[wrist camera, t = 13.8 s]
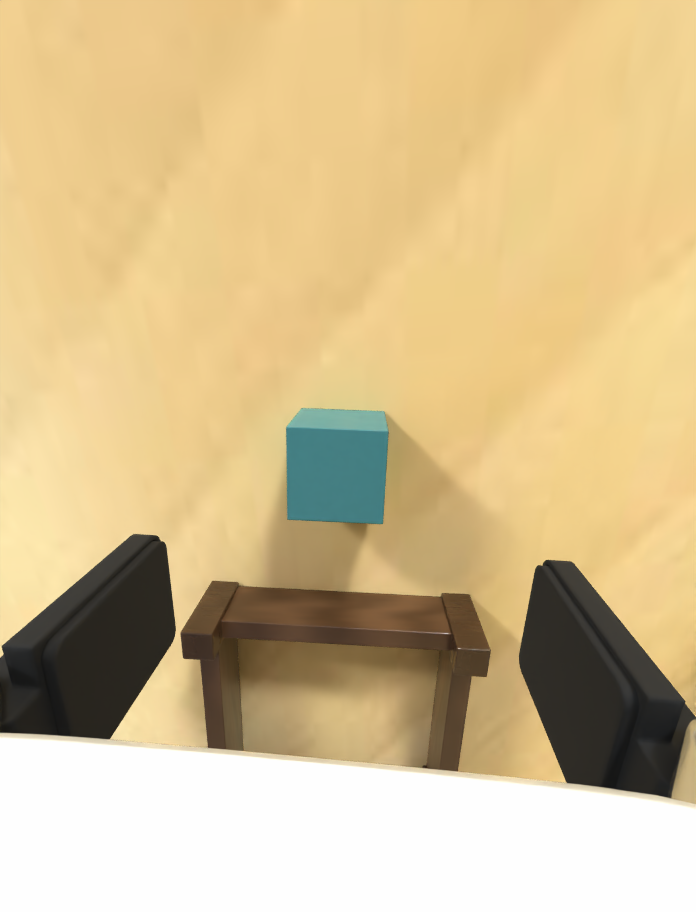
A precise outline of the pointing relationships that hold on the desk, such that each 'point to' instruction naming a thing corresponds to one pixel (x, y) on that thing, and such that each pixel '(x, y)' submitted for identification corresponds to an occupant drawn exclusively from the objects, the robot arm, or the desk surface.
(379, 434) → the teal block
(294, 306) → the desk surface
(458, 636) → the wooden frame
